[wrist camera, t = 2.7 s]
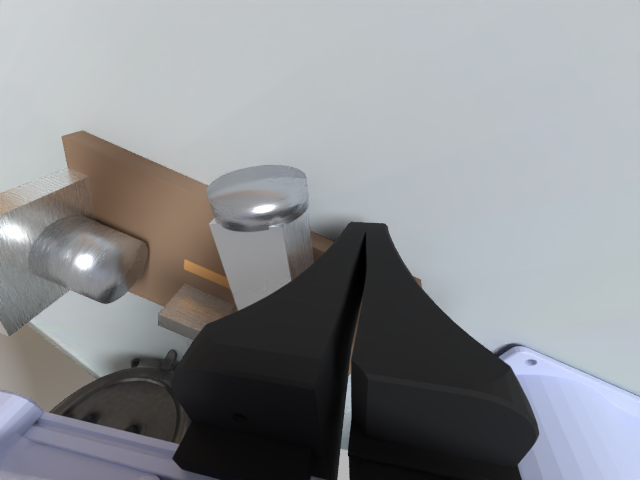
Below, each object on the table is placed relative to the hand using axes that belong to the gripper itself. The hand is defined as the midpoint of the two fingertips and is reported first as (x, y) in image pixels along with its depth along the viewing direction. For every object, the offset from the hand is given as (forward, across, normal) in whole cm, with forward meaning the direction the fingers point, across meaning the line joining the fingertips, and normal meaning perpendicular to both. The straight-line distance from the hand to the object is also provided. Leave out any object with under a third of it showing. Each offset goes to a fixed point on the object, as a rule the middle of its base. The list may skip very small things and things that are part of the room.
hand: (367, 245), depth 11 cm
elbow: (+1, +4, +2) cm, 4 cm away
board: (+2, +7, +4) cm, 8 cm away
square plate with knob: (+1, +11, +2) cm, 11 cm away
